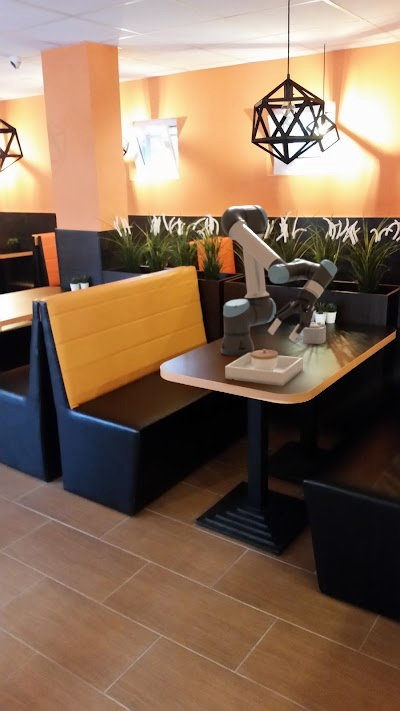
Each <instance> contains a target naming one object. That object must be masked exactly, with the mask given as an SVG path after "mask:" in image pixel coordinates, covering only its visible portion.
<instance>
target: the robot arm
mask: <svg viewBox="0 0 400 711" xmlns="http://www.w3.org/2000/svg"><path fill="white" fill-rule="evenodd" d="M268 223H269V218H268V213H267V212H266V210H265V209H264V208H263V207H262V206H260V205H256V204H255V205H254V204H250V205H234V206H233V205H232V206H230V207H228V208H226V210H225V211H224V212H223V213H222V215H221V218H220V225H221V226H220V227H221V228H222V230H223V233H224V234H225V235H226V236H227V237H228V238H229V239H230V240H233V241H235V242H237V243H238V244H239V245H240V247H242V252H243V254H242V255H243V265H244V272H245V273H244V275H245V284H246V292H247V293H246V294H245V296H244V298H238V299H231V300H229V301H227V302H225V303H224V305H223V312H222V314H223V332H224V333H223V340H222V343H221V346H220V353H221V354H222V355H224V356H233V357H239V356H240V357H242V356H244V355H245V354H247V353H252V352H253V351H255V346H254V343H253V340H252V338H251V337H252V336H251V334H250V333H251V330H250V329H251V327H254V326H258V325H265V324H266V323H270V322H271V321H273V319H274V318H275V319H274V321H273V322H272V323H271V325H270V327H269V328H268V330H267V332H268V333H269V334H270V335H272V336H273V335H274V334H275V332H276V331H277V330H278V328H279V326H280V325H281V324H282V321H283V320H285V319H287V318H288V317H290V316H291V315H295V314H299V323H297V325H296V326H295V328H294V329H293V331H292V332H291V333H290V335H289V336H288V339H290V340H291V342H295V340H296V339H297V338H298V336H299V335H300V334H301V333H303V329H304V328H305V327H307V328H309V327H310V324H311V322H312V319H313V316H314V312H315V311H316V307H315V304H316V303H317V301H318V299H319V298H320V297H321V295H322V294H323V292H324V291H325V289H326V288H327V287H328V285H329V284H330V283H331V281H332V280H333V279H334V277H335V275H336V273H337V272H338V268H337V266H336V264H335V263H334V262H332V260H331V261H330V260H329V259H323V260H321V261H320V263H315V262H312V261H308V260H306V259H304V258H301V259H300V258H295V259H293V260H292V261H291V262H286V261H285V260H284V259H283V258H281V257H280V255H278V254H277V253H276V252H275V250H273V249H272V248H271V247H270V246H269V245H267V243H266V242H264V241H263V240H262V238H263V236H264V230H266V229H267V226H268ZM265 271H267V273H268V274H267V276H268V278H269V281H270V282H271V283H272V284H277V285H278V284H285V283H290V282H294V281H301V280H306V281H307V282H305V285H303V287H302V289H301V290H300V291H299V292H298V294H297V299H296V300H295V301H294V300H293V299H290V300H289V301H288V303H287V304H285V305H284V306H283V307H281V308H280V309H279V310H277V305H276V303H275V301H274V300H273V299H272V298H271V297H270V293H269V292H268V291H267V290H266V279H265V278H266V277H265Z"/></svg>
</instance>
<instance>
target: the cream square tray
mask: <svg viewBox="0 0 400 711" xmlns="http://www.w3.org/2000/svg"><path fill="white" fill-rule="evenodd" d="M303 370H304V358H303V357H298V356H297V357H296V356H287V355H286V356H285V355H278V362H277V366H276V368H275V369H274V370H273V371H267V370H258V369H254V368H253V365H252V361H251V353H247V354H245V355H243V356H240V357H239V358H237V359H236V360H234V361H232V362H230V363H229V364H227V365H225V366H224V371H225V375H224V376H225V379H226V380H232V379H234V380H233V381H241V382H247V383H248V382H249V383H250V382H251V383H254V384H255V383H256V384H264V385H272V386H273V385H274V386H279V387H281V386H282V387H283V386H285V385H286V384H287V383H289V381H291V380H292V379H294V378H295V377H296V376H297V375H298V374H300V373H301V372H302V371H303ZM299 372H300V373H299Z"/></svg>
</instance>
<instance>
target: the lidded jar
mask: <svg viewBox="0 0 400 711" xmlns="http://www.w3.org/2000/svg"><path fill="white" fill-rule="evenodd" d="M278 356H279V352H278V351H276V350H273V349H266V348H263V349H258V350H254V351H253V352H252V353H251V361H252V365H253V368H254V369H258V370H267V371H273V370H274V369H275V368H276V366H277V362H278Z"/></svg>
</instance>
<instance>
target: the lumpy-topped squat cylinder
mask: <svg viewBox="0 0 400 711" xmlns="http://www.w3.org/2000/svg"><path fill="white" fill-rule="evenodd" d="M326 340H327V326H326V324H325V323H324V322H323V323H322V322H321V321H317V322H316V321H311V324H310V327H309V328H307V327H305V328H304V329H303V330H302V343H303V344H314V345H315V344H317V345H321V344H324V343H325V342H326Z"/></svg>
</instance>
